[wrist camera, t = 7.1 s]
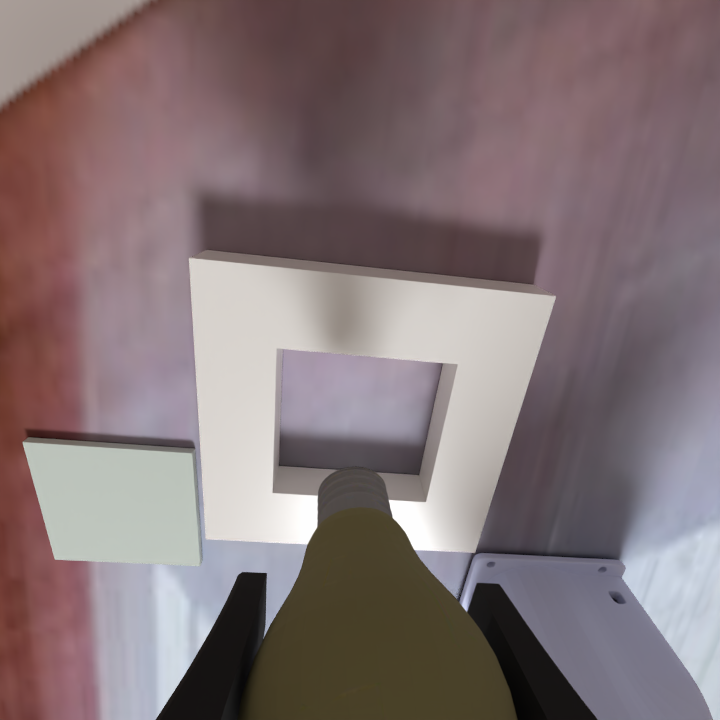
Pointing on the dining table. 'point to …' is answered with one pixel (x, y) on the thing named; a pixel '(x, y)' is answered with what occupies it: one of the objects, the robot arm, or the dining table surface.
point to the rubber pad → (117, 501)
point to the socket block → (362, 338)
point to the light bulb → (371, 627)
